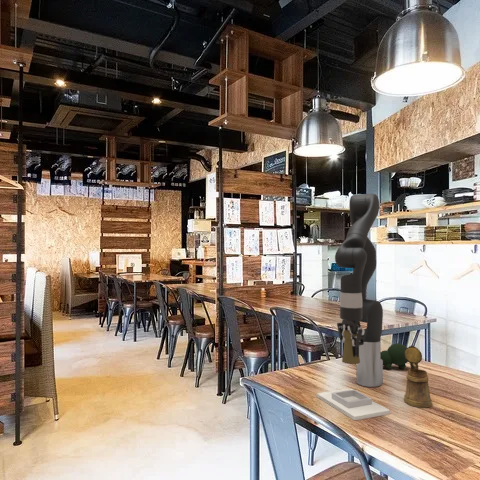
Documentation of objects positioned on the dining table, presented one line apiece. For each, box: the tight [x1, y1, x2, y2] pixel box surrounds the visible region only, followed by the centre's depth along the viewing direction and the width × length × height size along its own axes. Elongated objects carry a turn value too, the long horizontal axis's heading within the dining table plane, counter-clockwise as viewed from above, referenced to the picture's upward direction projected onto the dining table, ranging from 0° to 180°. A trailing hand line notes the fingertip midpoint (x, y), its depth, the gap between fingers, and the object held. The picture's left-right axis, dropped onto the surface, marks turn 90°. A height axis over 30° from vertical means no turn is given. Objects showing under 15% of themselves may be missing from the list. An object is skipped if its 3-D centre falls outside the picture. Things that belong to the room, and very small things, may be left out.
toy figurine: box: [381, 342, 409, 370], centre depth 187 cm, size 9×19×25 cm
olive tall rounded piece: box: [341, 330, 360, 365], centre depth 144 cm, size 6×6×11 cm
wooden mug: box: [403, 344, 433, 409], centre depth 148 cm, size 9×14×18 cm, turn 170°
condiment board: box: [316, 388, 391, 421], centre depth 144 cm, size 14×22×3 cm, turn 22°
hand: (351, 354), depth 144 cm, fingers closed on olive tall rounded piece, 4 cm apart
